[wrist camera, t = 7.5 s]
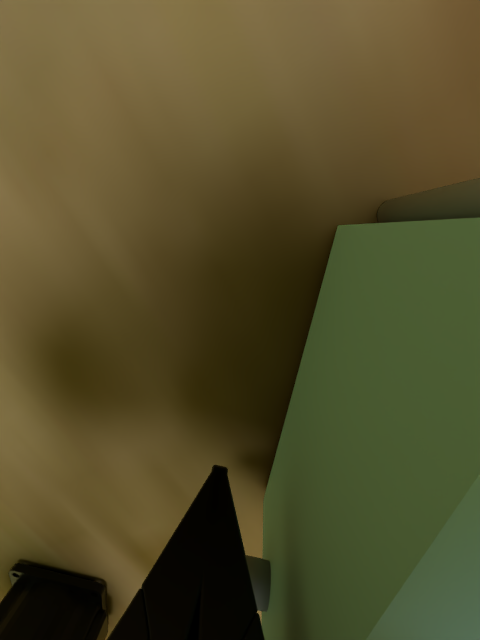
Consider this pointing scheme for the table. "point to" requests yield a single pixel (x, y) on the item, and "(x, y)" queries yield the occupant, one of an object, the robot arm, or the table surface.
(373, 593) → the door
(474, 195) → the cupboard
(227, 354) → the table surface
